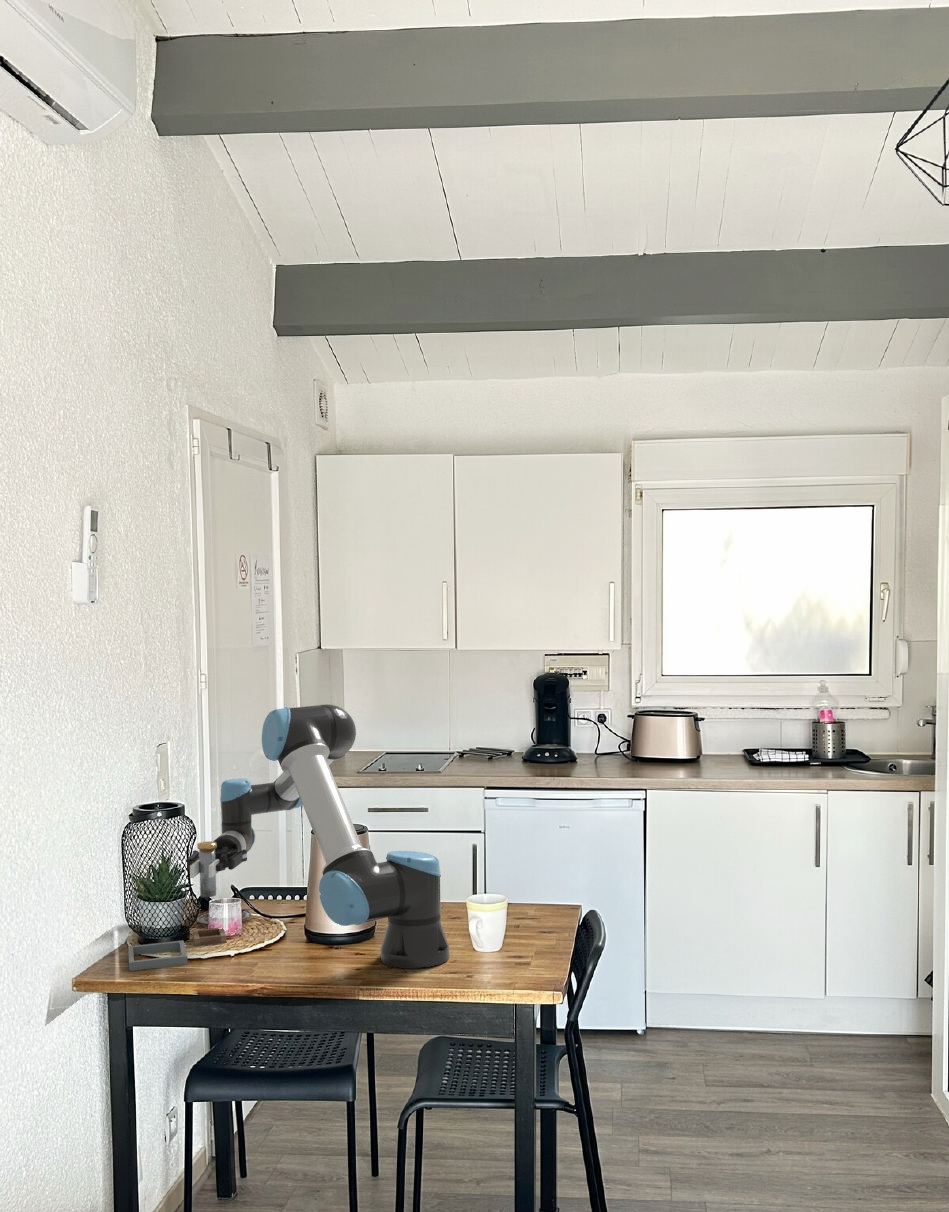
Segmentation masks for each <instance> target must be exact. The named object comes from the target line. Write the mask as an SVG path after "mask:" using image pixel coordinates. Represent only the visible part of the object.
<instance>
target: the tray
mask: <svg viewBox="0 0 949 1212" xmlns="http://www.w3.org/2000/svg"><path fill="white" fill-rule="evenodd" d="M127 948H128V955H127V956H128V968H129V969H128V970H129V972H131V971H142V970H149V969H150V970H151V969H157V968H158V969H160V968H166V967H175V966H184V965H188V953H187V950H186V945H185V941H184V940H183V939H182V940H176V941H175V940H174V941H167V942H157V943H156V942H155V943H148V944H140V945H139V944H138V945H129V946H128V947H127ZM172 951H173V952H174V951H179V955H174V956H165V957H158V958H157V957H156V958H147V959H137V960H135V958H134V956H137V955H145V954H154V953H155V954H156V953H164V952H172Z"/></svg>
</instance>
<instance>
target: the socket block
mask: <svg viewBox="0 0 949 1212" xmlns="http://www.w3.org/2000/svg"><path fill="white" fill-rule="evenodd" d="M218 928H219V927H213V928H212V927H210V928H203V929H193V930H192V941H193V943H194V946H195V947H199V946H210V945H219V944H226V943H227V934H226V932H225V929H223V928H224V927H223V928H222V929H218Z"/></svg>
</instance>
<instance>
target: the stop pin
mask: <svg viewBox="0 0 949 1212" xmlns="http://www.w3.org/2000/svg"><path fill="white" fill-rule="evenodd" d="M196 845H197V846H196V847H197V850H198V851H199V861H200V873H199V890H200V891H199V896H200V897H202V898H212V897H215V896H217V874H216V875H215V876H213V877H212V878H209V865H210V864H211V863H212V862H214V861H215V848H217V842H213V841H208V840H207V841H201V842H198V843H197V844H196Z"/></svg>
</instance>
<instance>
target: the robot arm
mask: <svg viewBox="0 0 949 1212" xmlns="http://www.w3.org/2000/svg"><path fill="white" fill-rule="evenodd" d="M356 735H357V729H356V724H355V721H354V719H353V717H352V716H351V715H350V714H349V713H348V711H346V710H345V709H343V708H341V707H339V706H337V705H334V704H327V703H326V704H317V705H307V706H298V707H288V706H285V707H283V708H282V707H281V708H275V709H273V710H271V711H270V712H268V714H267V715H266V717H265V718H264V721H263V724H262V730H261V745H262V746H261V747H262V751H263V754H264V756H265V758H266V759H267V760H269V761H272V762H275V761H278V764H279V767H280V769H281V770H282V772H281V774H280V775H278V777H277V778H276V779H275V780H274V781H273V782H267V783H258V784H251V780H250V779H248V778H230V779H229V778H228V779H225V780H224V781H222V782H221V785H220V799H219V800H220V808H221V809H220V811H221V813H220V815H221V824H220V825H221V834H220V835H219V836H217V837H216V838H215V839H214V840H213V841H212V842H217V848H215V861H214V862H212V863H211V864H210V865H209V878H212V877H213V876H215V875H216V876H217V874H218V873H219V872H222V871H225V870H226V869H228V870H229V871H230V870H234V869H235V868H237V867H238V866H239V865H241V864H242V863H243V862H246V861H248V852H249V851H251V849H252V848H253V845H254V843H255V842H256V833H255V831H254V829H253V828H252V817H253V815H260V814H265V813H274V812H282V811H291V810H293V809H297V808H301V807H303V809H304V811H305V814H306V816H307V820H308V822H309V825H310V827H311V829H312V831H313V834H314V837H315V839H316V842H317V845H318V847H319V850H320V852H321V855H322V858H323V859H324V862H325V865H324V867H323V868H322V871H321V874H322V876H321V878H320V880H319V884H318V892H319V893H320V895H319V900H320V904H321V907H322V909H323V910H324V912H325V914H326V916H327V917H328V918H329V919H330V920H331V921H332V923H334V924H336V925H340V926H343V927H347V926H359V925H362V924H365V923H369V922H374V921H377V920H381V919H386V918H387V926H386V930H385V933H384V936H383V939H382V943H381V946H380V961H381V962H382V963H383V964H385V965H386V966H390V967H393V968H398V967H399V969H420V968H419V967H426V968H431V966H432V967H435V965H436V966H438V965H439V966H440V965H441V964H443V963H445V962H447V961H448V960H449V959H450V946H449V942H448V939H447V937H446V933H445V931H444V926H443V925H442V920H441V919H442V917H441V911H442V910H441V908H442V907H441V906H442V905H441V876H442V875H441V869H440V868H441V867H440V861H439V859H438V857H436V856H435V855H433V854H430V853H427V852H422V851H412V850H393V851H392V850H391V851H388V852H387V854H386V857H385V860H386V861H382V862H377V860H376V857H375V856H374V853H373V852H372V850H371V849H368V848H367V847H366V848H365V847H364V846H363V845H362V842H361V841H360V837H359V836H358V834H357V831H356V828H355V826H354V824H353V821H352V818H351V816H350V814H349V812H348V809H347V807H346V804H345V801H344V799H343V797H342V794H341V792H340V789H339V787H338V785H337V783H336V780H335V778H334V774H333V773H332V771H331V768H330V765H331V764H332V763H333V762H334V761H337V760H340V759H342V758H344V757H345V756H346V754H348V753H349V752H350V750H351V749H352V747H353V746H354V743H355V741H356V737H357V736H356ZM186 867H187V868H186V869H187V871H189V874H190V875H189V878H190V879H194V878H195V877H197V876H198V875H200V861H199V850H198V849H197V850H196V849H195V850H192V854H190V856H189V857H187V859H186Z"/></svg>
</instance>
